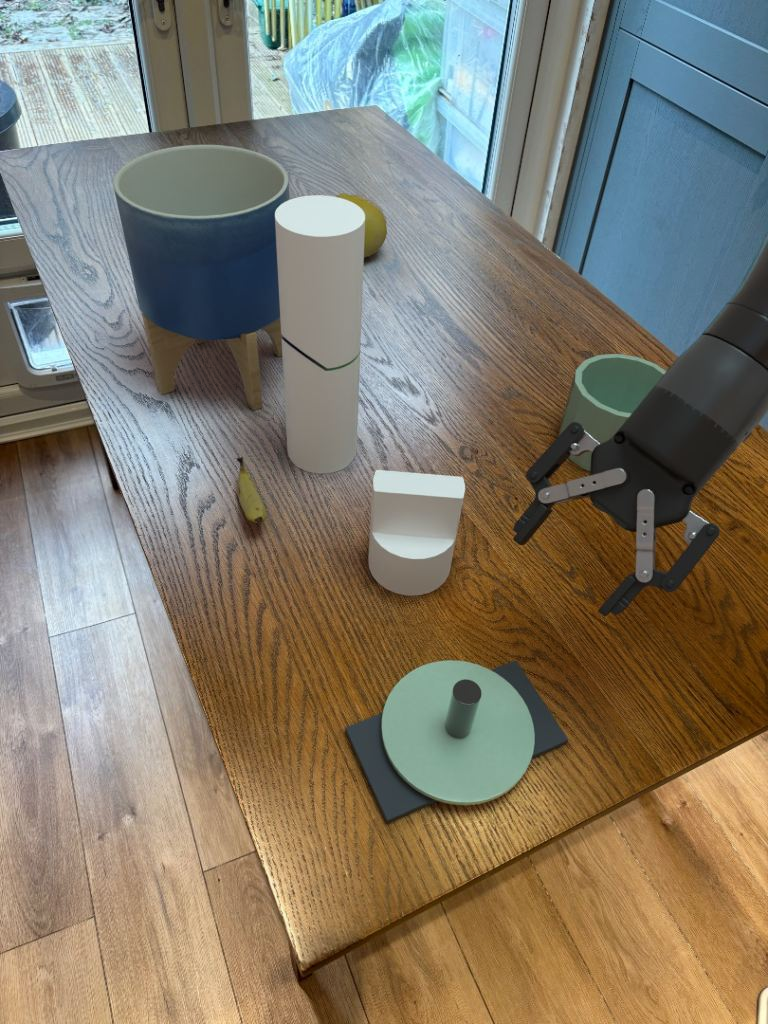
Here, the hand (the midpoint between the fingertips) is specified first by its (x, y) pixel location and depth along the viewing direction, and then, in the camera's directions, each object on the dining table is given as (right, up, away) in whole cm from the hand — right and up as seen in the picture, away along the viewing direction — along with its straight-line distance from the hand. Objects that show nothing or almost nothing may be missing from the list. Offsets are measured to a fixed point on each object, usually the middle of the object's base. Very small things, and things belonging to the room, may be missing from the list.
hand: (559, 577), depth 59 cm
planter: (-36, +24, +44) cm, 62 cm away
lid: (-7, -14, +7) cm, 18 cm away
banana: (-29, +5, +26) cm, 39 cm away
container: (-22, +13, +34) cm, 42 cm away
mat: (-7, -15, +8) cm, 19 cm away
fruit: (-19, +49, +68) cm, 86 cm away
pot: (+15, +14, +37) cm, 43 cm away
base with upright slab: (-11, 0, +22) cm, 25 cm away
